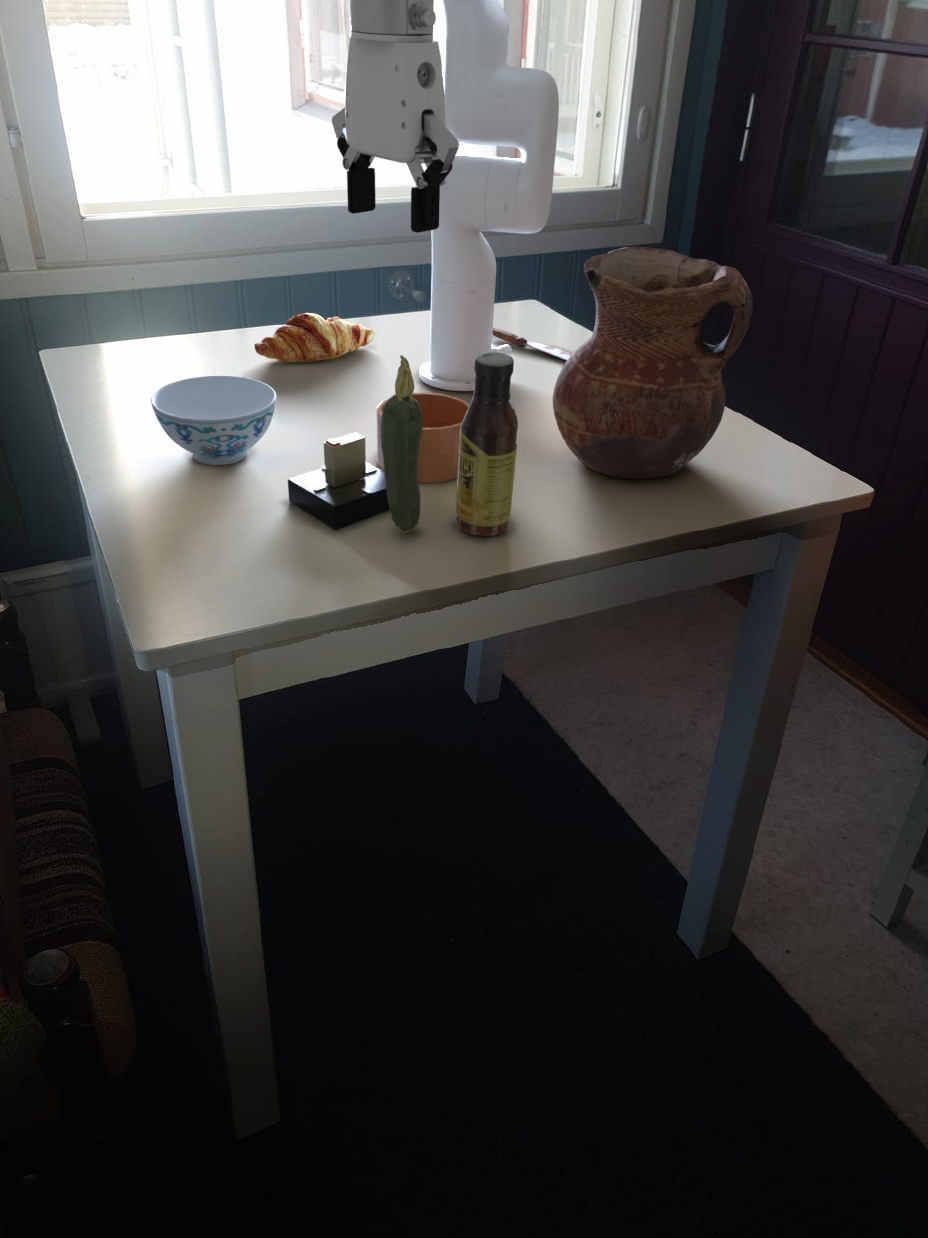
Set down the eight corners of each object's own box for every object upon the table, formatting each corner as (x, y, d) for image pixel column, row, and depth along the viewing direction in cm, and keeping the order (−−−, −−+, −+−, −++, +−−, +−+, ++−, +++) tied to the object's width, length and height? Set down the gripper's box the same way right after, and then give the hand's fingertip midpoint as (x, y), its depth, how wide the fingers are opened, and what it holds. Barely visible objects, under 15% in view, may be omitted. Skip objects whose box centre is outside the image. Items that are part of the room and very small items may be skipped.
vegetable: (415, 547, 105) (417, 368, 94) (376, 541, 106) (374, 363, 95) (424, 528, 109) (428, 354, 98) (387, 523, 109) (386, 350, 98)
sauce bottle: (453, 513, 112) (460, 345, 101) (506, 513, 113) (519, 346, 102) (457, 541, 107) (465, 366, 96) (513, 541, 107) (527, 367, 96)
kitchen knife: (600, 359, 158) (582, 362, 155) (598, 369, 159) (580, 372, 156) (507, 324, 170) (488, 325, 167) (505, 333, 171) (486, 335, 167)
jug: (567, 496, 117) (591, 286, 103) (530, 429, 134) (547, 241, 120) (739, 490, 120) (785, 286, 107) (682, 425, 138) (714, 242, 124)
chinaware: (178, 428, 129) (170, 372, 125) (289, 434, 129) (286, 378, 125) (144, 476, 117) (134, 416, 113) (267, 482, 117) (262, 422, 112)
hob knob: (356, 471, 113) (355, 430, 110) (366, 477, 112) (365, 435, 109) (325, 482, 111) (323, 440, 108) (334, 488, 109) (333, 445, 107)
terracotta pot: (428, 435, 131) (429, 385, 127) (491, 465, 124) (495, 413, 120) (357, 458, 124) (356, 406, 120) (420, 491, 116) (421, 437, 113)
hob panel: (356, 479, 119) (355, 455, 117) (403, 504, 113) (403, 480, 112) (288, 502, 113) (287, 477, 111) (335, 530, 107) (334, 505, 106)
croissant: (364, 359, 166) (353, 312, 164) (392, 346, 157) (381, 297, 156) (250, 377, 155) (238, 327, 153) (274, 365, 146) (260, 311, 145)
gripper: (488, 27, 84) (479, 232, 94) (363, 13, 94) (367, 200, 104) (424, 28, 80) (422, 243, 89) (300, 13, 90) (310, 209, 99)
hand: (392, 220), depth 97 cm, fingers open, 9 cm apart
